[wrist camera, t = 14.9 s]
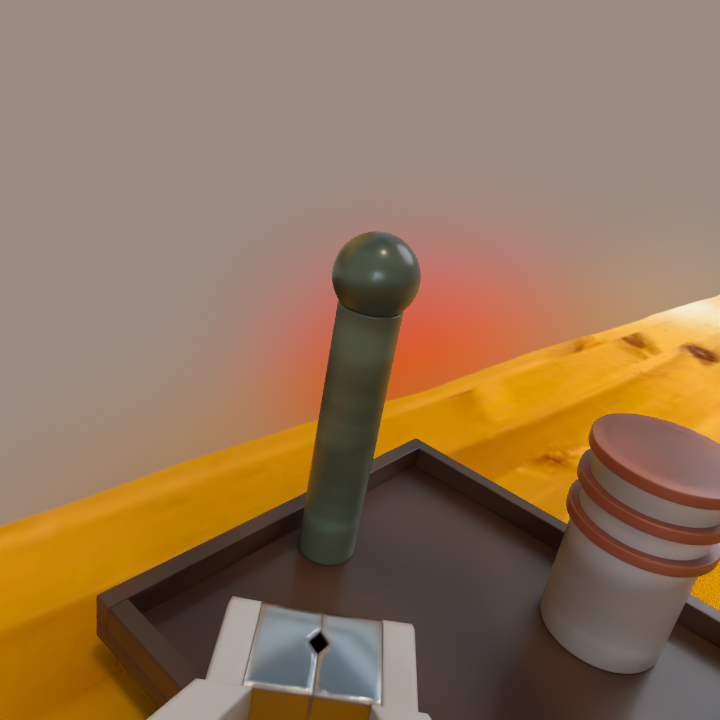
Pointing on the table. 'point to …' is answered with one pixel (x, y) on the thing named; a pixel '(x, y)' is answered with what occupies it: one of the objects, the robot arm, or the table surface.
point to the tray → (461, 553)
